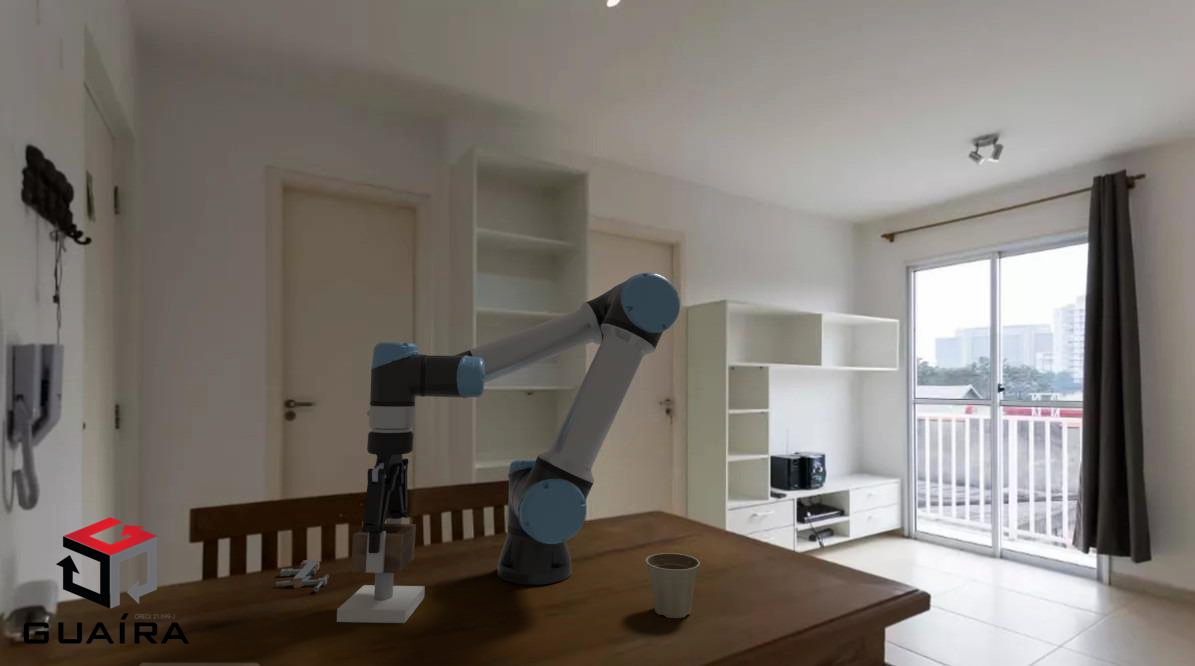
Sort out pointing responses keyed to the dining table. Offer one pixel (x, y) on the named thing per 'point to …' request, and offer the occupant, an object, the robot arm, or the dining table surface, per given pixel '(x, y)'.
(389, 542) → the open brown box
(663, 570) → the flower pot
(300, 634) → the dining table surface
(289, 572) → the clamp
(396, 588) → the post block
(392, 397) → the robot arm
